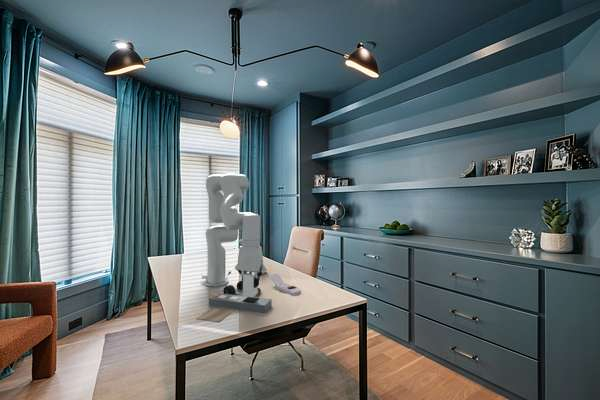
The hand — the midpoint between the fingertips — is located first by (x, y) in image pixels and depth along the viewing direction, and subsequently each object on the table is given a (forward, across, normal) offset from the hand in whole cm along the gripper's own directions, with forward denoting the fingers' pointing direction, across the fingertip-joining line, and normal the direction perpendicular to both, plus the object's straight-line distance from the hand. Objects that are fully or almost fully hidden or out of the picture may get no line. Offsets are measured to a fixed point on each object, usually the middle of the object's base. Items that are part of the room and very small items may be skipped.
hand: (250, 285), depth 114 cm
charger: (+4, 0, 0) cm, 4 cm away
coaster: (+10, -10, -11) cm, 18 cm away
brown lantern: (+11, -23, +52) cm, 57 cm away
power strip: (+10, -5, 0) cm, 11 cm away
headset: (+11, -11, +14) cm, 21 cm away
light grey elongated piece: (+11, +7, +26) cm, 29 cm away
